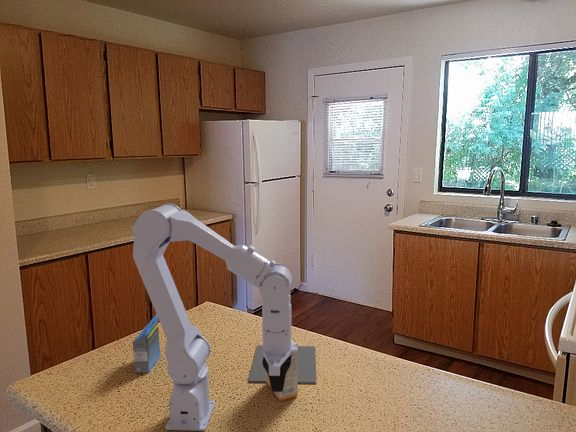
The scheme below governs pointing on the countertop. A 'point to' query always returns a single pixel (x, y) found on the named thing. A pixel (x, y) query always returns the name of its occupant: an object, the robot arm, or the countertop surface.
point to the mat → (304, 366)
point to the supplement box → (289, 378)
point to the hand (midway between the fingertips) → (277, 389)
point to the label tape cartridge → (147, 347)
